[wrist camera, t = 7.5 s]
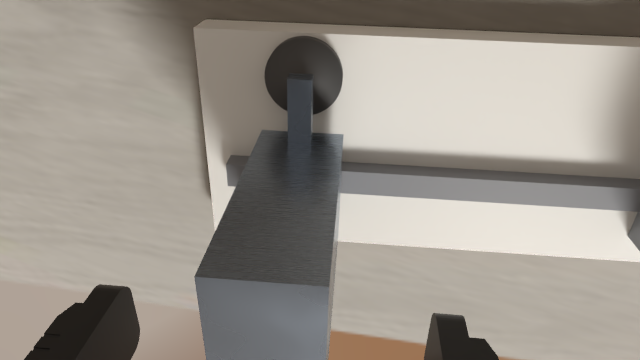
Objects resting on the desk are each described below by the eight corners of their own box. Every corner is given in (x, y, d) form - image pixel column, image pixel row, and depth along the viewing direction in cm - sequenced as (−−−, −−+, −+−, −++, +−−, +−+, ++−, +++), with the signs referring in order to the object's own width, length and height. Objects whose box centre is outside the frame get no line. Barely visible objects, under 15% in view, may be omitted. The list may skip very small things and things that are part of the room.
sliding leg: (347, 70, 16) (333, 198, 9) (338, 229, 20) (323, 411, 13) (260, 66, 16) (181, 188, 9) (266, 224, 20) (212, 401, 13)
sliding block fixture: (813, 44, 17) (1091, 131, 10) (705, 245, 21) (851, 393, 15) (205, 19, 18) (117, 82, 12) (224, 214, 23) (167, 337, 16)
